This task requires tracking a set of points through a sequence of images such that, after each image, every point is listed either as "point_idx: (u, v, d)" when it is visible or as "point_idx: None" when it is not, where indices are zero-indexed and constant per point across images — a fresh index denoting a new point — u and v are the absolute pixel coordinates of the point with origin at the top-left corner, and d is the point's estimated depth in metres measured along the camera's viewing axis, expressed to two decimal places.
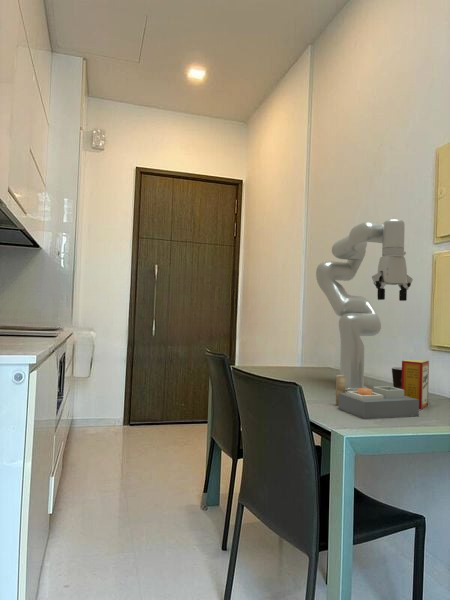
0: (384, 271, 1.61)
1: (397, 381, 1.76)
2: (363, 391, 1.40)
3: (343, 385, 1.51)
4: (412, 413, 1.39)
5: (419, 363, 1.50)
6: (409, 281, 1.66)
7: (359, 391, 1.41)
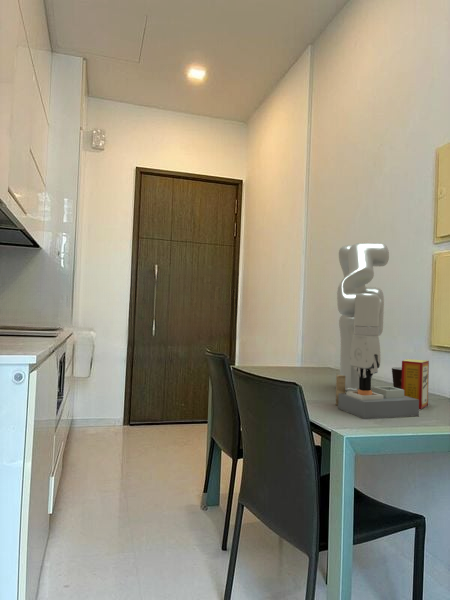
0: (379, 355, 1.38)
1: (397, 381, 1.76)
2: (363, 392, 1.40)
3: (343, 385, 1.51)
4: (412, 413, 1.39)
5: (419, 363, 1.50)
6: None
7: (359, 392, 1.41)
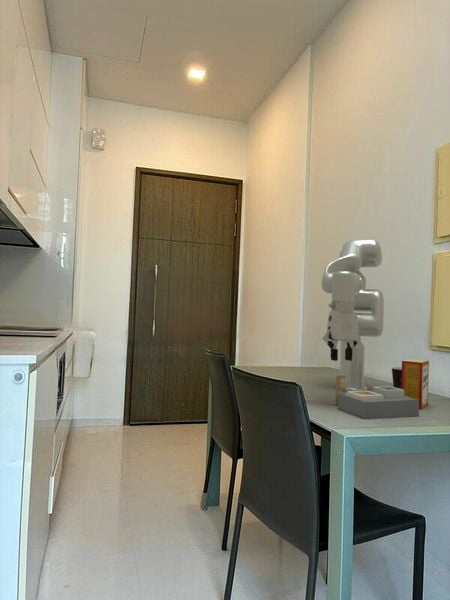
0: None
1: (397, 381, 1.76)
2: None
3: (343, 385, 1.51)
4: (412, 413, 1.39)
5: (419, 363, 1.50)
6: None
7: None
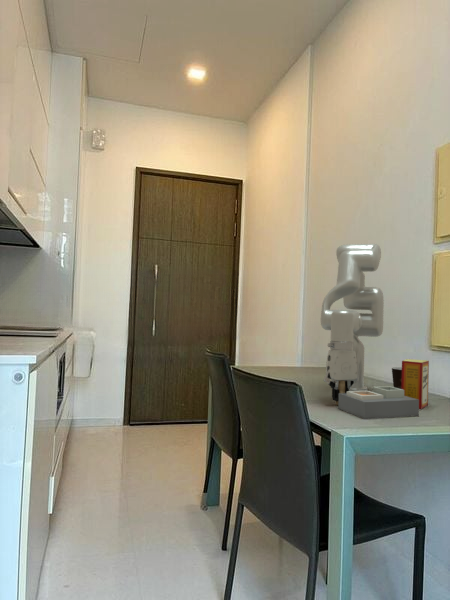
0: None
1: (397, 381, 1.76)
2: None
3: (343, 385, 1.51)
4: (412, 413, 1.39)
5: (419, 363, 1.50)
6: None
7: None
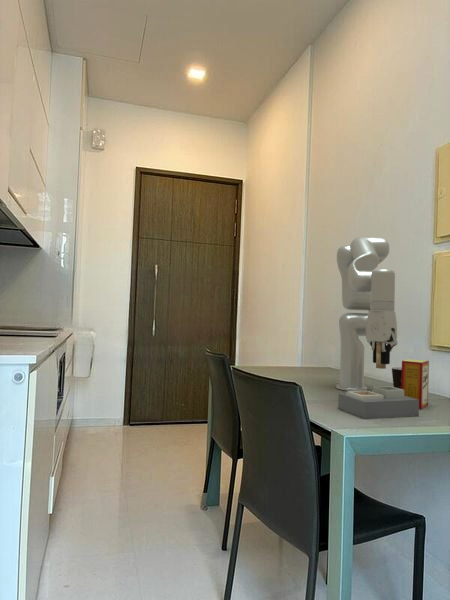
0: (396, 329, 1.42)
1: (397, 381, 1.76)
2: None
3: (378, 346, 1.45)
4: (412, 413, 1.39)
5: (419, 363, 1.50)
6: None
7: None
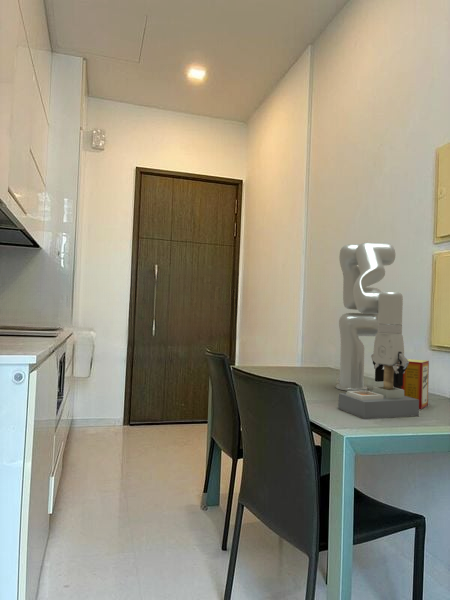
0: (403, 352, 1.41)
1: None
2: None
3: (385, 374, 1.44)
4: (412, 413, 1.39)
5: (419, 363, 1.50)
6: None
7: None
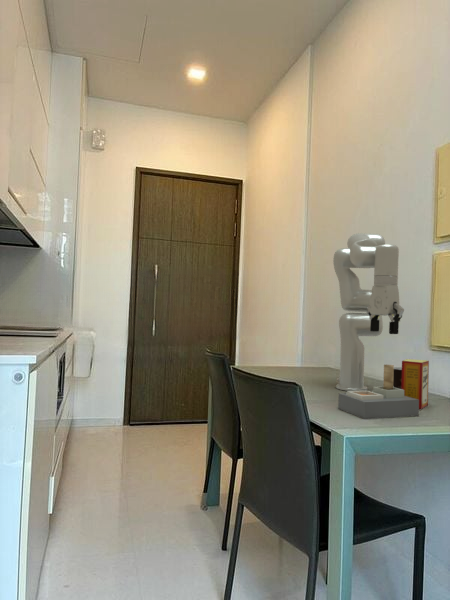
0: (398, 303, 1.46)
1: (397, 381, 1.76)
2: None
3: (385, 374, 1.44)
4: (412, 413, 1.39)
5: (419, 363, 1.50)
6: None
7: None
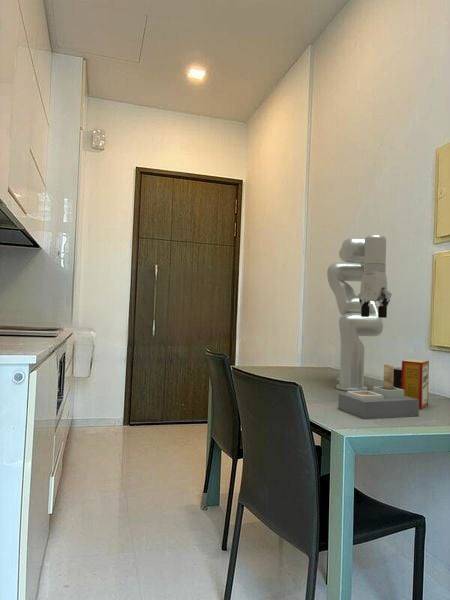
0: (386, 288, 1.57)
1: (397, 381, 1.76)
2: None
3: (385, 374, 1.44)
4: (412, 413, 1.39)
5: (419, 363, 1.50)
6: None
7: None
